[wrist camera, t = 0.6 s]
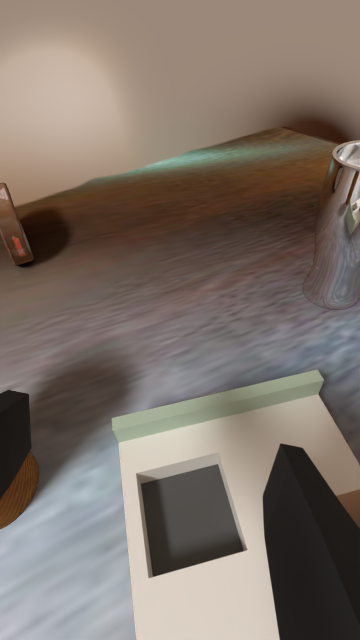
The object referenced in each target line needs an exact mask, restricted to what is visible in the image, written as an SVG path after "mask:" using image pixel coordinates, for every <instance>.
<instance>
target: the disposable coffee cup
mask: <svg viewBox="0 0 360 640" xmlns="http://www.w3.org/2000/svg"><path fill="white" fill-rule="evenodd" d="M38 475H39V471H38V465H37V462H36V460H35V458H34V457H33V455H32V454H31V452H29V454H28V455H27V457H26V459H25V461H24V463H23V465H22V466H21V468H20V470H19V472H18V473H17V475H16V477H15V479H14V480H13V482H12V484H11V485H10V486H9V488H8V489H7V491H6V492H5V494H4V495H3V496H2V498H1V499H0V529H2V528H4V527H6V526H7V525H9V524H10V523H11V522H13V521H14V520H15V519H16V518H17V517H18V516H19V515H20V514H21V513H22V512H23V511H24V509H25V508H26V507H27V505H28V504H29V503H30V501H31V499H32V497H33V495H34V493H35V490H36V488H37V483H38Z"/></svg>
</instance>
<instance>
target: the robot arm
mask: <svg viewBox="0 0 360 640" xmlns="http://www.w3.org/2000/svg"><path fill="white" fill-rule="evenodd" d="M30 450H31V433H30V412H29V394H26V393H21V392H16V391H11V390H7V391H5V392H3V393H1V394H0V499H1V498H2V496H3V495H4V494H5V492H6V491H7V489H8V488H9V486H10V485H11V484H12V482H13V480H14V479H15V477H16V475H17V473H18V472H19V470H20V468H21V466H22V465H23V463H24V461H25V459H26V457H27V455H28V454H29V452H30ZM263 522H264V538H265V545H266V552H267V559H268V566H269V573H270V579H271V586H272V592H273V599H274V605H275V612H276V619H277V625H278V632H279V638H280V640H360V528H359V527H358V526H357V524H356V523H355V521H354V520H353V519H352V517H351V516H350V515H349V513H348V512H347V511H346V509H345V508H344V506H343V505H342V504H341V502H340V501H339V499H338V498H337V497H336V495H335V494H334V492H333V491H332V489H331V488H330V487H329V485H328V484H327V482H326V481H325V479H324V478H323V476H322V475H321V473H320V472H319V471H318V469H317V468H316V466H315V465H314V463H313V462H312V460H311V459H310V457H309V456H308V454H307V453H306V452H305V450H304V449H303V448H302V447H297V446H292V445H287V444H281V443H280V446H279V449H278V452H277V455H276V458H275V460H274V463H273V466H272V469H271V472H270V475H269V478H268V481H267V484H266V487H265V490H264V493H263Z"/></svg>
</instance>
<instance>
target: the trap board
mask: <svg viewBox="0 0 360 640" xmlns="http://www.w3.org/2000/svg"><path fill="white" fill-rule="evenodd" d="M323 382H324V379H323V378H322V376H321V374H320V373H319V371H318V370H314V371H309V372H305V373H301V374H297V375H292V376H288V377H284V378H280V379H275V380H271V381H267V382H263V383H259V384H254V385H250V386H246V387H242V388H237V389H233V390H229V391H225V392H220V393H216V394H212V395H208V396H203V397H199V398H195V399H191V400H187V401H182V402H178V403H174V404H170V405H165V406H161V407H157V408H153V409H148V410H144V411H140V412H136V413H131V414H127V415H123V416H119V417H115V418H112V430H113V433H114V435H115V437H116V439H117V441H118V443H119V453H120V464H121V475H122V486H123V497H124V508H125V519H126V530H127V541H128V552H129V563H130V574H131V585H132V596H133V607H134V618H135V629H136V640H280V638H279V632H278V625H277V619H276V612H275V605H274V599H273V592H272V586H271V579H270V573H269V566H268V559H267V552H266V545H265V538H264V522H263V493H264V490H265V487H266V484H267V481H268V478H269V475H270V472H271V469H272V466H273V463H274V460H275V458H276V455H277V452H278V449H279V446H280V443H281V444H287V445H292V446H297V447H302V448H303V449H304V450H305V452H306V453H307V454H308V456H309V457H310V459H311V460H312V462H313V463H314V465H315V466H316V468H317V469H318V471H319V472H320V473H321V475H322V476H323V478H324V479H325V481H326V482H327V484H328V485H329V487H330V488H331V489H332V491H333V492H334V494H335V495H336V496H337V495H341V494H345V493H348V492H352V491H356V490H359V489H360V465H359V463H358V461H357V459H356V458H355V456H354V454H353V453H352V451H351V449H350V447H349V446H348V444H347V442H346V441H345V439H344V437H343V436H342V434H341V432H340V430H339V429H338V427H337V425H336V424H335V422H334V420H333V419H332V417H331V415H330V413H329V412H328V410H327V408H326V407H325V405H324V403H323V402H322V400H321V398H320V396H319V395H318V394H319V391H320V389H321V386H322V384H323Z"/></svg>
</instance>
